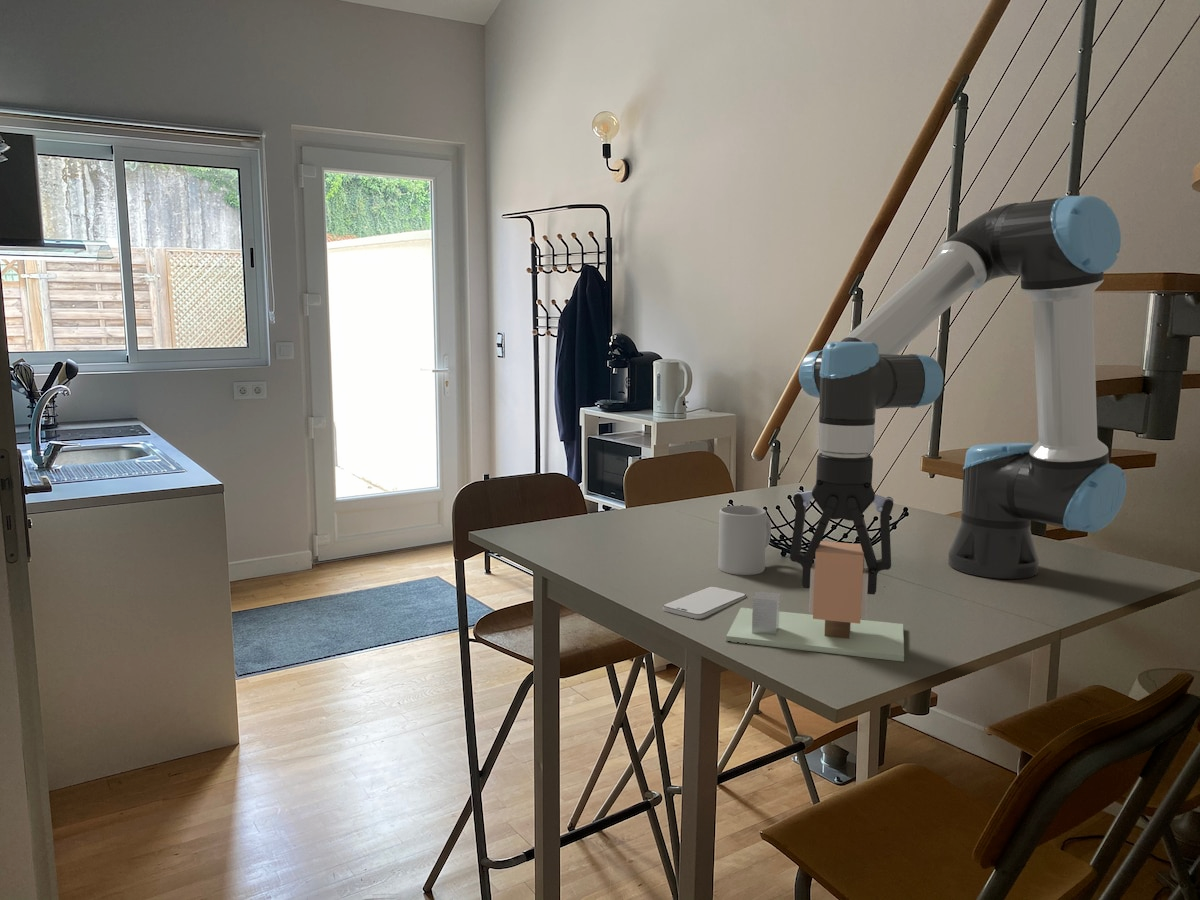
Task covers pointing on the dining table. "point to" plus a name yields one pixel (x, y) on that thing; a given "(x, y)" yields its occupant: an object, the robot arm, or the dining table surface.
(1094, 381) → the robot arm
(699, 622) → the dining table surface
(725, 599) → the smartphone
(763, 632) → the grey post
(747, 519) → the mug
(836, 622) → the walnut post
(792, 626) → the board
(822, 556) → the peach rectangular block
